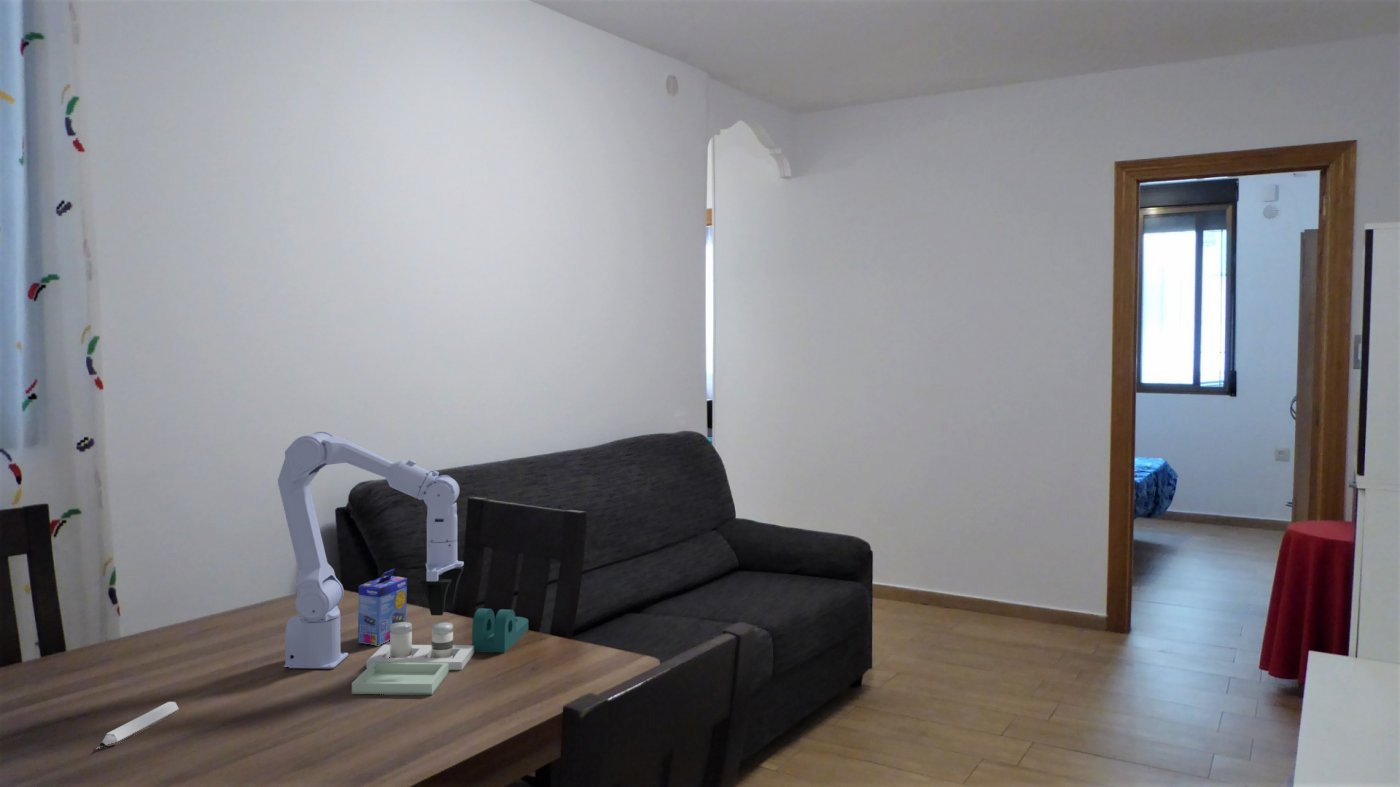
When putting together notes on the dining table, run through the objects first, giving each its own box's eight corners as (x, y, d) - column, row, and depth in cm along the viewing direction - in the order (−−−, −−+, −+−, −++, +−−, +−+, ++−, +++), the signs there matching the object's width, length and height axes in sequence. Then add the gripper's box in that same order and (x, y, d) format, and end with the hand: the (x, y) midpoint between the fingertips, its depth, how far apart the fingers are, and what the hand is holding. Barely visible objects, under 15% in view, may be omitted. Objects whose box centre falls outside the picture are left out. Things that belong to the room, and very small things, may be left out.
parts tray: (351, 694, 165) (351, 683, 165) (373, 672, 176) (373, 662, 176) (431, 695, 165) (431, 684, 165) (448, 673, 176) (448, 663, 176)
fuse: (387, 664, 181) (387, 628, 181) (394, 657, 185) (393, 622, 185) (408, 664, 181) (408, 628, 181) (414, 657, 185) (414, 622, 185)
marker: (94, 759, 141) (170, 717, 157) (105, 753, 141) (180, 712, 156) (86, 744, 141) (163, 703, 157) (97, 738, 141) (173, 697, 156)
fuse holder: (366, 669, 178) (366, 661, 178) (383, 651, 188) (383, 644, 188) (461, 670, 178) (461, 662, 178) (474, 652, 188) (474, 645, 188)
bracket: (504, 654, 189) (504, 615, 188) (472, 652, 189) (472, 613, 189) (532, 627, 206) (532, 592, 206) (502, 626, 207) (502, 590, 207)
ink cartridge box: (379, 647, 191) (379, 576, 190) (356, 644, 193) (355, 574, 192) (408, 633, 201) (408, 565, 200) (385, 630, 202) (385, 563, 202)
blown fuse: (429, 664, 181) (428, 628, 181) (434, 657, 185) (434, 622, 185) (450, 664, 181) (450, 628, 181) (455, 657, 185) (455, 622, 185)
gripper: (453, 547, 175) (453, 620, 176) (471, 532, 189) (471, 599, 190) (415, 547, 175) (415, 619, 176) (436, 532, 189) (436, 599, 190)
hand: (442, 609), depth 183 cm, fingers open, 7 cm apart
